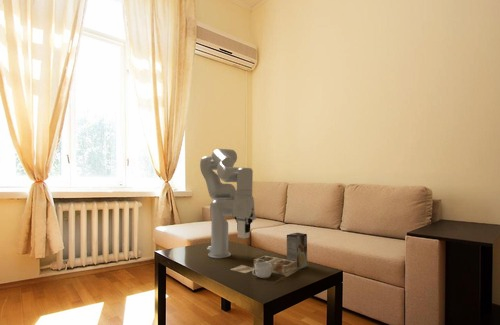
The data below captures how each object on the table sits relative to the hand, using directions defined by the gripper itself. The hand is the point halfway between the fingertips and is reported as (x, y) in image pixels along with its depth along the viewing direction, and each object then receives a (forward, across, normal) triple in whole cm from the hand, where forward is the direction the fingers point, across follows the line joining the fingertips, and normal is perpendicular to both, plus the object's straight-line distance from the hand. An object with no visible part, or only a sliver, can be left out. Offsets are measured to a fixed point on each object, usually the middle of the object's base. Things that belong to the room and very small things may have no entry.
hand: (243, 231), depth 139 cm
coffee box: (+18, +19, +20) cm, 33 cm away
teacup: (+18, +13, -4) cm, 23 cm away
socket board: (+18, +13, +9) cm, 24 cm away
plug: (+3, 0, 0) cm, 3 cm away
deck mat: (+18, +1, 0) cm, 18 cm away
